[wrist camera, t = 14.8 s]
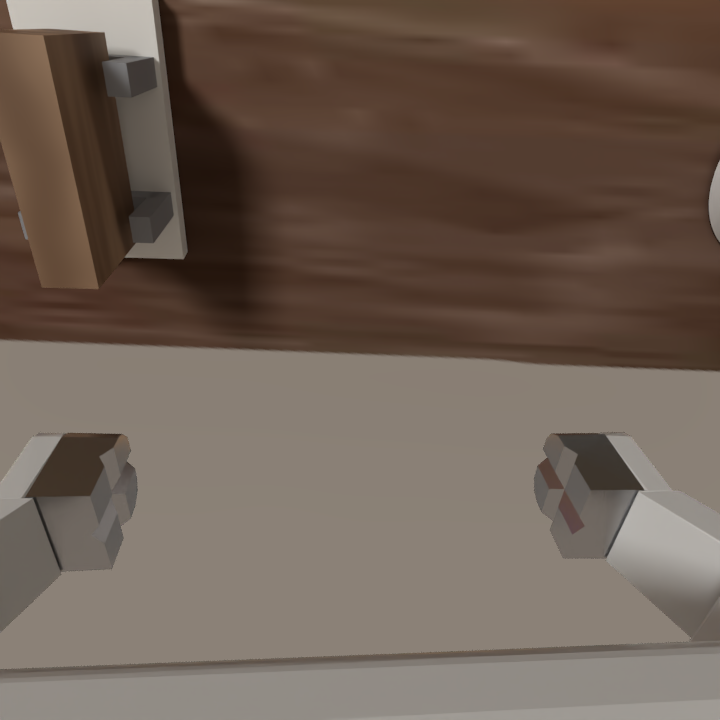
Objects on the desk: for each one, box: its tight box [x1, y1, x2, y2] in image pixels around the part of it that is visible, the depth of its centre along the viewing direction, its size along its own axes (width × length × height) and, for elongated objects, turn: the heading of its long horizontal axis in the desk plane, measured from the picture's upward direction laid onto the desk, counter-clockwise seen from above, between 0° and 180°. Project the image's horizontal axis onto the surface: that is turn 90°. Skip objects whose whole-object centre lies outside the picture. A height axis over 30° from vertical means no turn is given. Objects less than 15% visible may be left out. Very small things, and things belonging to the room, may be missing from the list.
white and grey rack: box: [6, 0, 188, 259], centre depth 32 cm, size 8×16×7 cm, turn 177°
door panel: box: [0, 29, 136, 289], centre depth 29 cm, size 4×12×8 cm, turn 176°
